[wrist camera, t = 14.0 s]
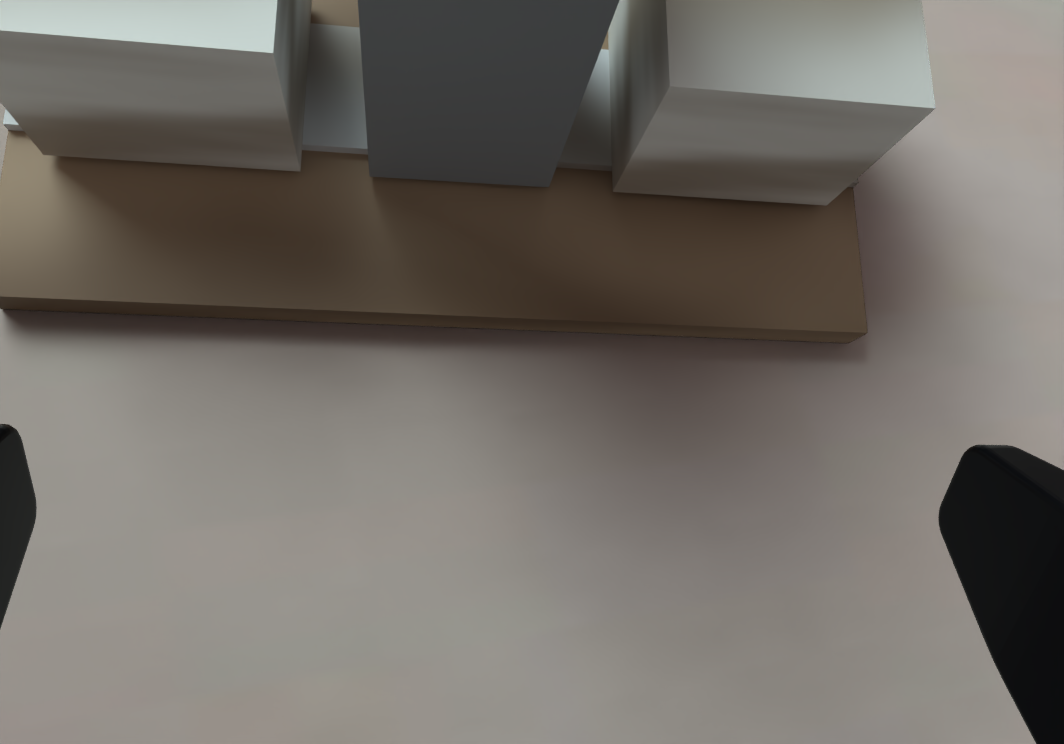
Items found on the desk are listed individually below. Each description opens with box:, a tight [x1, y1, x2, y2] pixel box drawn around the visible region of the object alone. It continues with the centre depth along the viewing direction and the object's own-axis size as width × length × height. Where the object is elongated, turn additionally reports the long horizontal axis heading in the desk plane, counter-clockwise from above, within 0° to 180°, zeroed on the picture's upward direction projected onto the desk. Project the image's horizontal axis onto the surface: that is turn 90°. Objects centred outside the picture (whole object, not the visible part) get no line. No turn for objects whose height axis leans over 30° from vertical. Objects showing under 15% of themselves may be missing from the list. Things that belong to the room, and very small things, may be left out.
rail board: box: [0, 0, 935, 343], centre depth 21 cm, size 12×22×6 cm, turn 90°
